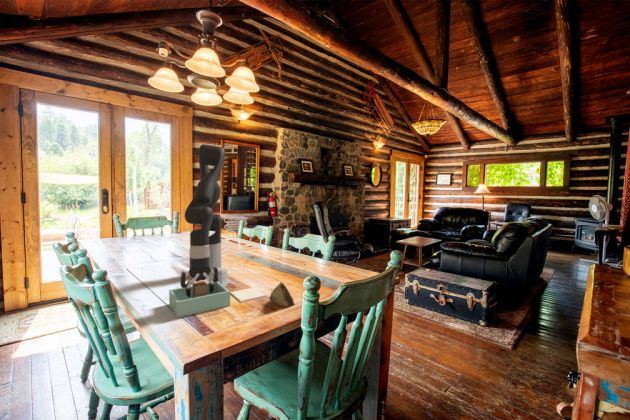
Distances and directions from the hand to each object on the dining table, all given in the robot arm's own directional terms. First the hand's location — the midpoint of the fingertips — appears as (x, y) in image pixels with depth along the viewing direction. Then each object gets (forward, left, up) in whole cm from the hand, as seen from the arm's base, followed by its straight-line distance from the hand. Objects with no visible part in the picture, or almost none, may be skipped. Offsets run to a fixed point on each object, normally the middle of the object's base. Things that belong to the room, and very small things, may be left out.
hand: (200, 294), depth 116 cm
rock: (+16, +29, -5) cm, 33 cm away
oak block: (0, 0, -5) cm, 5 cm away
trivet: (0, +21, -5) cm, 21 cm away
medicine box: (-18, +13, -5) cm, 22 cm away
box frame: (0, 0, -5) cm, 4 cm away
